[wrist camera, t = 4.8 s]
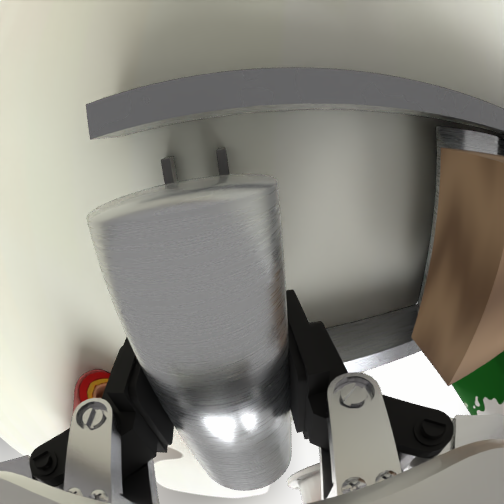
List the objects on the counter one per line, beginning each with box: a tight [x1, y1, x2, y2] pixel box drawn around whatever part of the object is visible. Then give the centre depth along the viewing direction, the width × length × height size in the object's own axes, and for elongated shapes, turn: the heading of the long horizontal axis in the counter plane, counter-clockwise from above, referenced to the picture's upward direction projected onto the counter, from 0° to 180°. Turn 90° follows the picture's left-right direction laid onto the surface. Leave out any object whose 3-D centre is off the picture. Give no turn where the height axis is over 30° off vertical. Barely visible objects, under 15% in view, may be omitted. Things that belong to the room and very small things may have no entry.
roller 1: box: [86, 174, 291, 491], centre depth 8 cm, size 11×4×4 cm, turn 6°
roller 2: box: [417, 126, 498, 313], centre depth 13 cm, size 12×4×4 cm, turn 6°
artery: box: [73, 369, 111, 412], centre depth 21 cm, size 42×5×5 cm, turn 150°
